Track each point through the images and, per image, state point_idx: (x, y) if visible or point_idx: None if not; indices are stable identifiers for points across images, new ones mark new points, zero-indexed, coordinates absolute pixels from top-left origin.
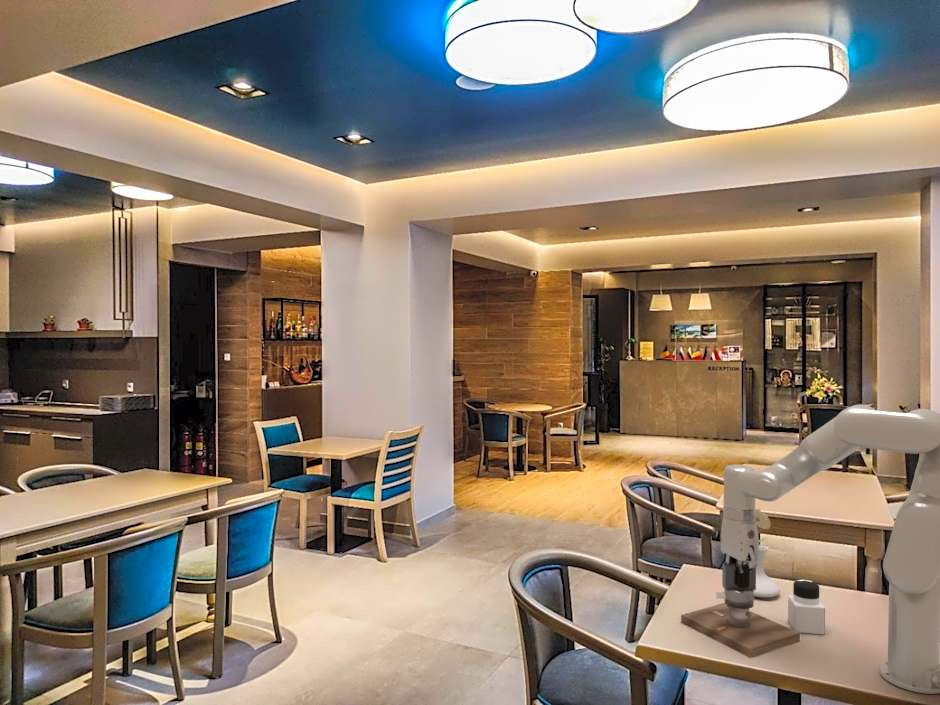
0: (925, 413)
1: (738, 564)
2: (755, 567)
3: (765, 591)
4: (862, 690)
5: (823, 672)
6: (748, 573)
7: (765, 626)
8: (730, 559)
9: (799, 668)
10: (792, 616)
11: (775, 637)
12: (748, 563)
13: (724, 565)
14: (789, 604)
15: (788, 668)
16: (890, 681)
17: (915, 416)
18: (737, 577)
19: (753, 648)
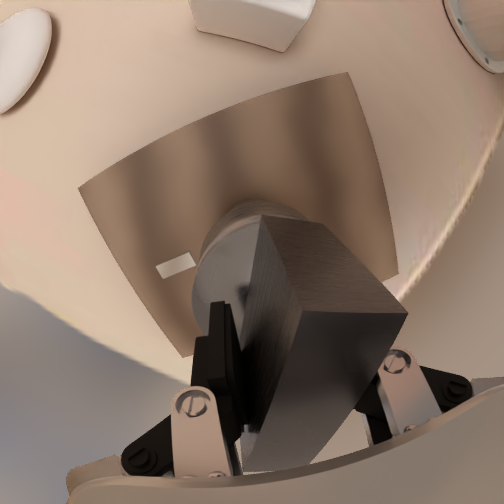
0: None
1: (296, 426)
2: (497, 381)
3: (38, 46)
4: (498, 134)
5: (461, 148)
6: (390, 354)
7: (289, 151)
8: (240, 473)
9: (444, 185)
10: (258, 30)
11: (365, 168)
12: (424, 415)
13: (283, 468)
14: (214, 8)
15: (439, 208)
16: (491, 71)
17: None
18: None
19: (397, 265)
